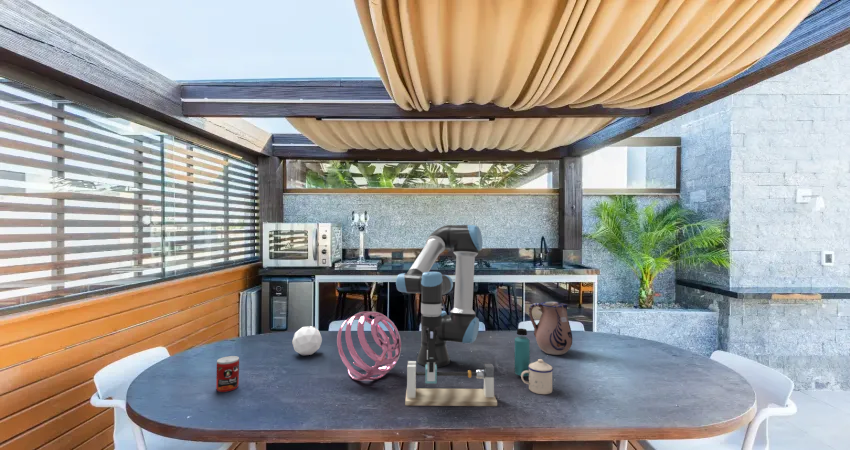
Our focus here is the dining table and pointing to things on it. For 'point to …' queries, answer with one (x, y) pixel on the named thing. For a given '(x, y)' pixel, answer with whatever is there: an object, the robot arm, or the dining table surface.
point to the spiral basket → (384, 345)
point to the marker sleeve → (426, 375)
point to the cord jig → (451, 390)
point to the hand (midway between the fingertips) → (430, 374)
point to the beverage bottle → (522, 352)
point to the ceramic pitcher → (552, 328)
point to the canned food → (227, 373)
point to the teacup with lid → (539, 377)
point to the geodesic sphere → (307, 340)
